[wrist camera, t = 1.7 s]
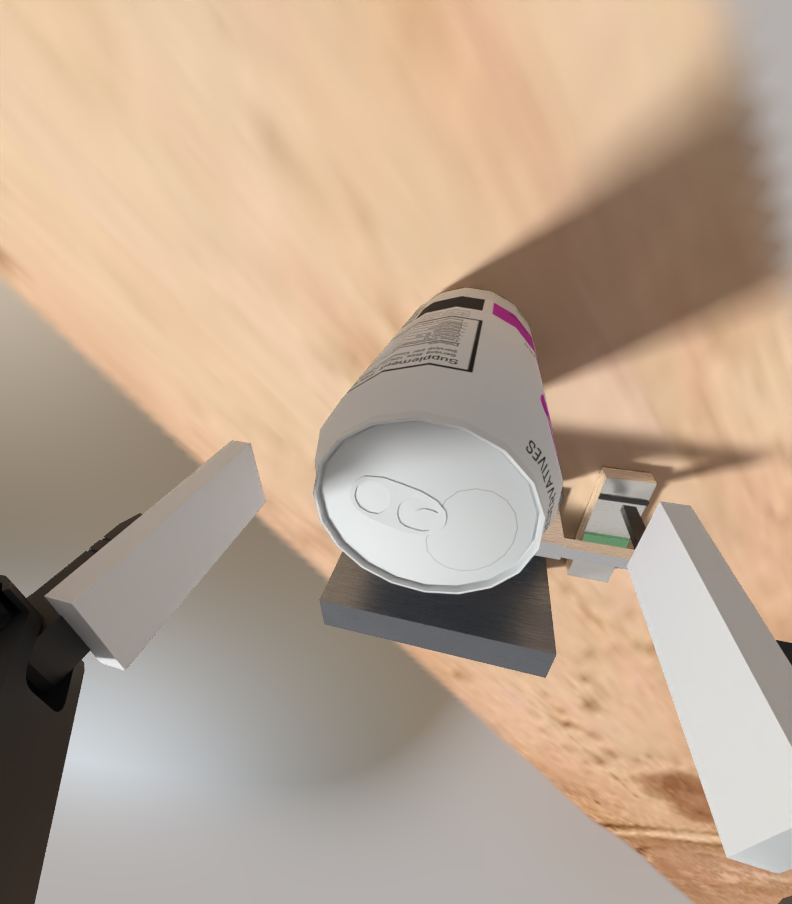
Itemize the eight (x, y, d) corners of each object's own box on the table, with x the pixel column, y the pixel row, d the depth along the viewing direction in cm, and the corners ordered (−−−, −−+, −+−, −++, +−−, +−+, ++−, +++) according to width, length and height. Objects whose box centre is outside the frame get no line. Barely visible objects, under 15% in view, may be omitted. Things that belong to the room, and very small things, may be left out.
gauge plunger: (362, 454, 28) (332, 505, 23) (633, 491, 24) (665, 562, 20) (362, 467, 29) (334, 519, 24) (627, 505, 25) (656, 577, 20)
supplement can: (560, 312, 20) (639, 467, 8) (497, 430, 25) (491, 633, 13) (424, 265, 21) (314, 347, 9) (388, 389, 26) (286, 552, 14)
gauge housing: (353, 435, 29) (301, 512, 21) (651, 473, 24) (712, 586, 17) (361, 537, 35) (324, 624, 28) (598, 581, 31) (627, 697, 24)
